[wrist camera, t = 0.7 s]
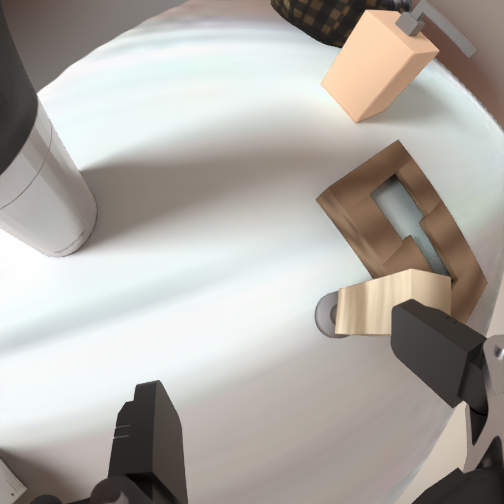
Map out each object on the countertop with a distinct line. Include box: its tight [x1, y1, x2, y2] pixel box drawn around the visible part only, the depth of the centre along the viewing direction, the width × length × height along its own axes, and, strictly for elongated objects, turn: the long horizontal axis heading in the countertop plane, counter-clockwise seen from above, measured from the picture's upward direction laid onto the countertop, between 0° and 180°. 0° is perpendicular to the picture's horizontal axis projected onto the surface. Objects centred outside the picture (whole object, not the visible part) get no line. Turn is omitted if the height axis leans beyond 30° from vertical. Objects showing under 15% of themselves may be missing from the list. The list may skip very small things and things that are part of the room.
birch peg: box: [315, 269, 451, 338], centre depth 26 cm, size 5×5×16 cm
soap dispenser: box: [320, 0, 477, 123], centre depth 32 cm, size 13×9×22 cm
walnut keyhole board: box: [316, 140, 487, 324], centre depth 36 cm, size 26×16×4 cm, turn 38°
